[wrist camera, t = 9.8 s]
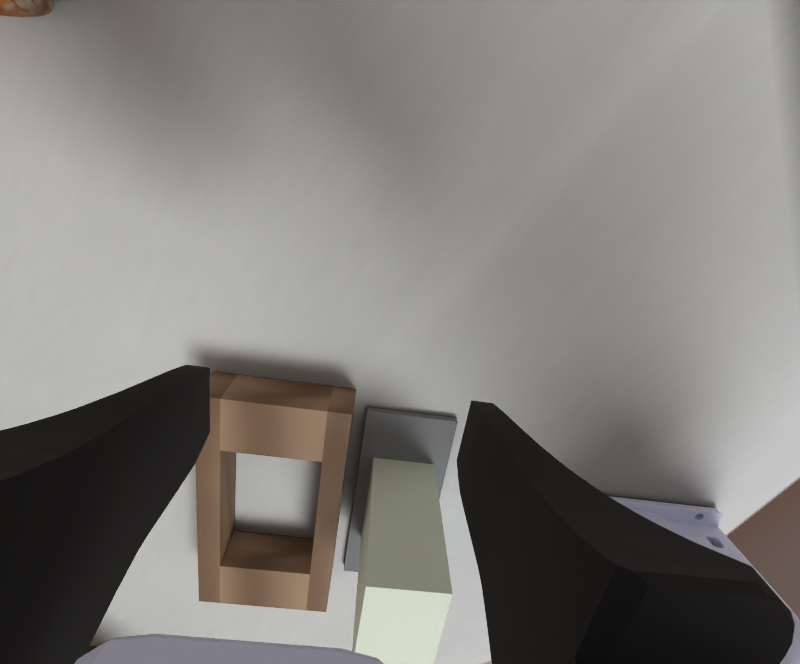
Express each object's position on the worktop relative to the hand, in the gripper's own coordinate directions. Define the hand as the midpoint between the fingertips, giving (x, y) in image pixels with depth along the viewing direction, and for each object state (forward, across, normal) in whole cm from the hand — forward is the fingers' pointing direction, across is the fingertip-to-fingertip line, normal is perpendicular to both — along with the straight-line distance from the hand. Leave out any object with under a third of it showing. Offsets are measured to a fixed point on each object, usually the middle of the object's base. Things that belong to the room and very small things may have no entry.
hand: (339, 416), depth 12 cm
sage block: (+10, -4, +12) cm, 16 cm away
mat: (+10, -4, +12) cm, 16 cm away
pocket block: (+10, +4, +12) cm, 16 cm away
